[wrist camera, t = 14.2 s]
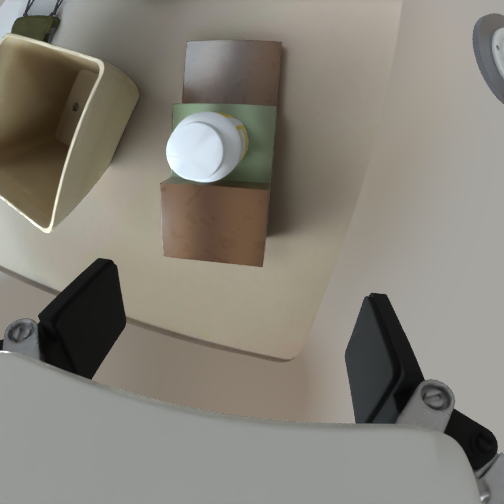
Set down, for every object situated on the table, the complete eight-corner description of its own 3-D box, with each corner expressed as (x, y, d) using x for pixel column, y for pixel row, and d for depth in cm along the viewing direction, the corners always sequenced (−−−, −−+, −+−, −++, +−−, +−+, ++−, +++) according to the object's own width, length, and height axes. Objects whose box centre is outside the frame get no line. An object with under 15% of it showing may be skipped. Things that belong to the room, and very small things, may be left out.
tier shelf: (281, 45, 31) (282, 24, 23) (266, 237, 42) (262, 267, 34) (191, 44, 32) (167, 27, 23) (184, 230, 43) (163, 256, 35)
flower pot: (172, 80, 34) (106, 62, 19) (119, 195, 42) (49, 237, 26) (79, 45, 31) (4, 31, 16) (40, 148, 39) (-32, 170, 24)
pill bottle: (185, 128, 32) (142, 133, 21) (236, 104, 30) (213, 95, 20) (208, 177, 34) (176, 204, 23) (259, 155, 32) (248, 172, 22)
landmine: (-3, 57, 28) (26, -12, 22) (7, 57, 31) (34, -10, 25) (36, 61, 30) (71, -18, 24) (46, 62, 32) (80, -14, 26)
